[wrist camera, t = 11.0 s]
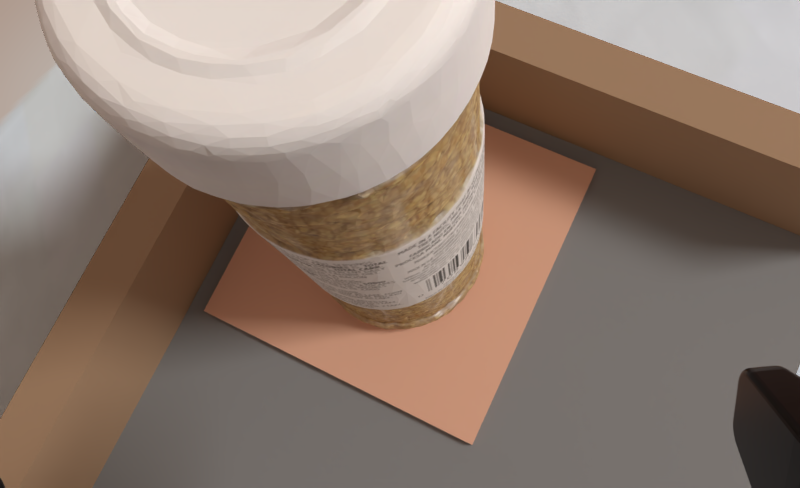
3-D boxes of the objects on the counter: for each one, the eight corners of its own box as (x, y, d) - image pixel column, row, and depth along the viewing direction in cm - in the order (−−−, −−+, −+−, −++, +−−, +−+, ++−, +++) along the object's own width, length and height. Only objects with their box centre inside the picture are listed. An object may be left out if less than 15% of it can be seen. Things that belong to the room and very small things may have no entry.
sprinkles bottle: (403, 138, 20) (270, -361, 7) (521, 250, 19) (608, -107, 6) (283, 251, 20) (-80, -70, 7) (397, 372, 19) (217, 257, 6)
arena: (578, 928, 16) (610, 1086, 12) (6, 574, 19) (-111, 613, 16) (847, 216, 19) (940, 166, 16) (316, 7, 22) (283, -78, 19)
